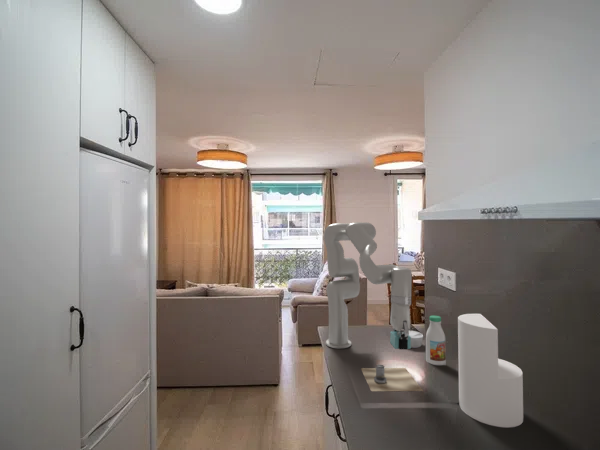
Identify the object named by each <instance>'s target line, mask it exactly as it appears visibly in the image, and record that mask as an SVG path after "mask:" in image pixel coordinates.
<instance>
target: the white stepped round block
mask: <svg viewBox="0 0 600 450" xmlns="http://www.w3.org/2000/svg"><path fill="white" fill-rule="evenodd" d="M498 333H499V329H498V328H497V327H496V326H495V325H494V324H492V323H491V321H489V320H488V319H487V318H486V317H485V316H484V315H482V313H465V314H461V315H459V316H457V335H458V336H457V343H458V344H457V345H458V349H457V350H458V352H457V354H458V356H457V357H458V359H457V360H458V404H459V408H460V409H461V411H462V412H463V413H465V414H466V415H467V416H468V417H470V418H472V419H474V420H475V421H478V422H480V423H482V424H486V425H489V426H492V427H498V428H515V427H516V428H517V427H518V426H520V425H522V423H523V422H524V387H523V386H524V383H523V382H524V381H523V380H524V379H523V377H524V376H523V371H522V369H521V368H520V367H518V365H516V364H514V363H512V362H510V361H507V360H504V359H501V358H499V335H498Z"/></svg>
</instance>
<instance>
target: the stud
mask: <svg viewBox="0 0 600 450" xmlns="http://www.w3.org/2000/svg"><path fill="white" fill-rule="evenodd" d="M375 368H376V376H375V377H374V382H375V383H377V384H386V382H387V379H386V378H385V372H384V368H385V365H383V364H375Z"/></svg>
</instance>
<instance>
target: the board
mask: <svg viewBox="0 0 600 450" xmlns="http://www.w3.org/2000/svg"><path fill="white" fill-rule="evenodd" d="M360 370H361V372H362V374H363V376H364V379H365V380H366V383H367V385H368V388H369V389H370V391H371V392H421V391H422V392H423V391H424V389H422V387H421V386H420V385H419V384H418V382H417V381H416V379H415V378H414V377H413V376H412V374H411V373H410V372H409V371H408V369H407V368H406V367H384V372H385V378H386V379H387V382H386V384H377V383H375V382H374V377H375V376H376V367H371V368H370V367H369V368H368V367H365V368H364V367H362V368H360Z"/></svg>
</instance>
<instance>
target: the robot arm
mask: <svg viewBox="0 0 600 450" xmlns="http://www.w3.org/2000/svg"><path fill="white" fill-rule="evenodd" d="M376 235H377V230H376V228H375V226H374V225H373V224H372V223H370V222H362V221H361V222H358V221H357V222H352V223H351V222H350V223H341V222H337V223H332V224H329V225H328V226H326V228H325V229H324V232H323V240H324V245H325V248H326V259H327V271H328V275H329V276H330V277H331V278H335V280H332V281H330V282H328V283H327V285H326V296H327V303H328V338H327V339H326V340H325V345H326V346H327V347H329V348H333V349H338V350H339V349H341V350H343V349H347V348H349V347H351V346H352V341H351V340H350V339H349V312H348V311H349V310H348V309H349V308H348V306H347V304H346V302H345V300H348V299H354V298H357V297H358V296H359V294H360V291H361V283H360V272H359V271H360V270H361V272H362V273H363V275H364V277H366V279H367V280H368V281H369V282H370V283H371V284H373V285H383V284H390V303H391V305H390V318H389V319H390V321H389V323H390V325H391V326H392V327H393V328H392V331H399V335H400V338H399V349H398V350H409V349H408V335H409V331H411V314H410V313H411V311H410V306H412V281H413V280H412V278H413V277H412V275H413V274H412V273H413V272H412V270H411V269H410V268H408V267H405V266H404V267H403V266H398V265H395V264H378V265H376V263H375V262H374V261H373V259H372V258H371V256H372V255H373V254H374V253H376V250H377V248H378V245H377V242H376V241H375V237H376ZM340 241H345V242H346V241H350V242H351V243H352V244H353V246H354V247H355V250H356V251H357V252H358V254H359V259H358V260H359V265H358V263H357V260H355V259H354V258H352V257H345V253H344V252H345V251H344V247H343V245H342V244H341V243H340ZM359 268H360V270H359ZM337 278H345V279H337ZM402 332H404V334H402Z"/></svg>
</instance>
